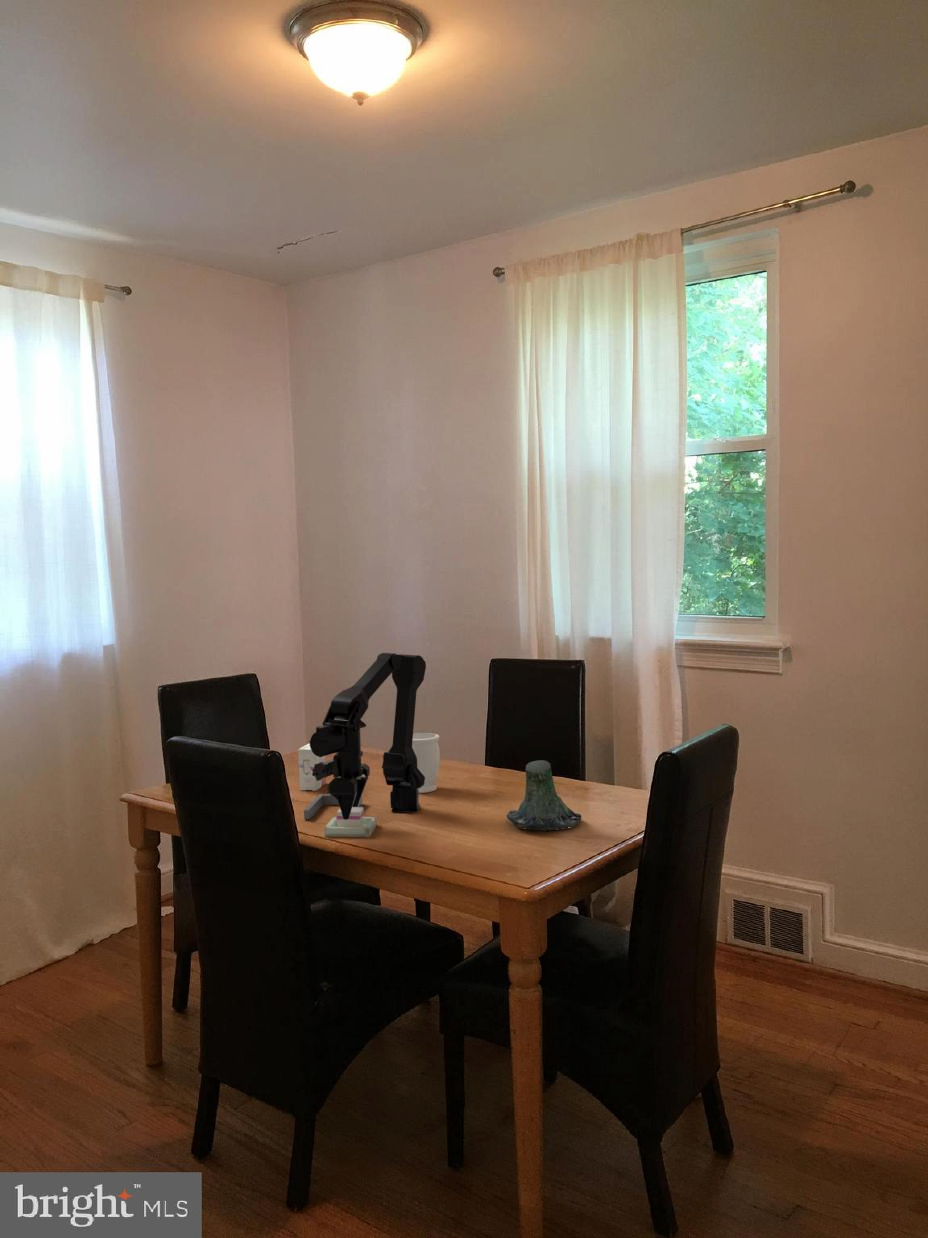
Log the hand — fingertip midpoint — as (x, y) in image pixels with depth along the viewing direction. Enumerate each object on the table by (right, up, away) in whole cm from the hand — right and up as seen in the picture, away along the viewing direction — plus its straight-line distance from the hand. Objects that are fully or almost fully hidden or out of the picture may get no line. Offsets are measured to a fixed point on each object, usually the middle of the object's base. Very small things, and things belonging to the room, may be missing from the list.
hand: (350, 814), depth 230 cm
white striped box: (0, -4, 0) cm, 4 cm away
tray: (0, -4, 0) cm, 4 cm away
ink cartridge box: (-16, -1, +43) cm, 46 cm away
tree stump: (+46, -3, +4) cm, 47 cm away
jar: (+15, -1, +38) cm, 41 cm away
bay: (-6, -3, +17) cm, 18 cm away
